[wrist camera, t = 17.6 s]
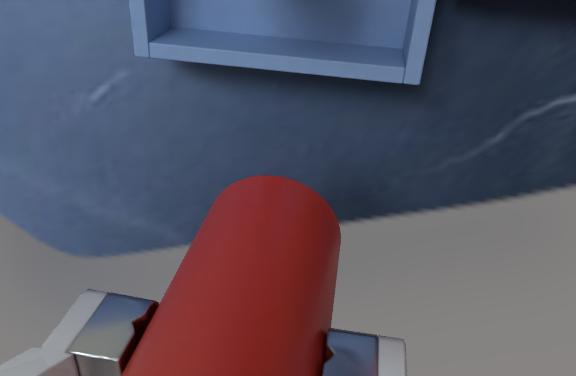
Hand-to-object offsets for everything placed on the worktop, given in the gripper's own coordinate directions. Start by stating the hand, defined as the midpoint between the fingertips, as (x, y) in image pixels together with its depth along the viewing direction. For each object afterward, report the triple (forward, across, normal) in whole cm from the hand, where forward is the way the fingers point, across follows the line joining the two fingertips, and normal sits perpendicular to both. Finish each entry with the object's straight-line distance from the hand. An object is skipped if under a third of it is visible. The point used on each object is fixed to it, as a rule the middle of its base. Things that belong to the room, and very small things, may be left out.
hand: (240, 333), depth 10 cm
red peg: (+4, 0, 0) cm, 4 cm away
